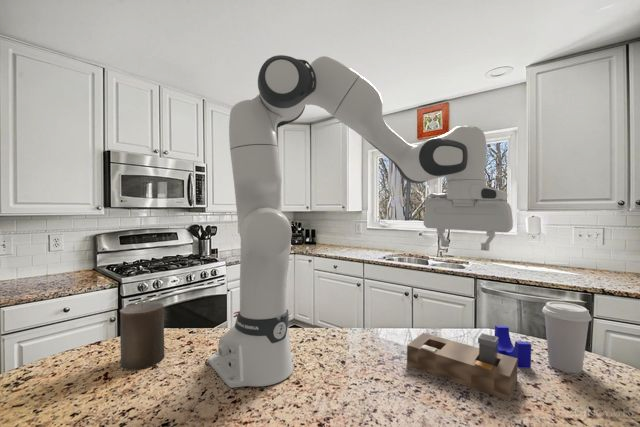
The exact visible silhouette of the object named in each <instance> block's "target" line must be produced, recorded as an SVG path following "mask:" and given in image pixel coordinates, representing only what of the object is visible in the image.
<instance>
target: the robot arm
mask: <svg viewBox="0 0 640 427" xmlns="http://www.w3.org/2000/svg"><path fill="white" fill-rule="evenodd" d="M257 75H258V76H257V88H258V92H259V94H257V95H256V97H254V98H252V99H245V100H241V101H239V102H237V103H235V104H234V105H232V108H231V109H230V113H229V122H228V124H229V125H228V137H229V138H228V139H229V141H228V142H229V151H230V152H229V153H230V161H231V169H232V176H233V178H232V179H233V186H234V195H235V205H236V207H235V208H236V216H237V224H238V226H237V227H238V233H239V238H240V254H239V255H240V256H239V257H240V262H239V263H240V265H239V266H240V267H239V310H238V311H236V312H233V315H234V314H235V315H234V316H233V318H236V319H235V323H234V325H233V327H232V328H230V329H229V330H228V331H226V332H225V333H224V334H223V335H222V336H220V338H219V340H218V346H217V347H218V348H217V349H218V350H217V351H216V352H214V353H213V354H211V355H210V356H209V357H208V358H207V359H208V360H207V361H208V364H209V365H210V367H211V368H212V369H213V370H214V371H215V373H217V375H218V376H219V377H220V379H221V380H223V382H224V383H225V385H227V386H228V388H232V389H233V388H241V387H266V386H271V385H275V384H279V383H281V382H282V381H284V380H286V379H287V378H289V377H290V376H291V375H292V373H293V371H294V363H293V359H294V353H293V352H292V349H291V337H290V329H289V320H290V314H289V310H288V308H287V307H288V306H287V305H288V304H287V302H288V301H287V300H288V286H287V283H288V272H289V265H290V264H289V263H290V256H291V246H292V245H291V242H292V237H293V232H292V227H291V226H292V225H291V223H290V221H289V219H288V218H287V216H286V215H285V214H284V213H283V212H282V174H281V165H280V155H279V145H278V144H279V143H278V137H277V136H278V135H277V129H278V128H280V127H282V126H285V125H287V124H291V123H293V122H295V121H296V120H298V119H299V118H300V117H302V115H303V113H304V112H305V108H306V105H308V106H310V105H312V106H317V107H319V108H320V109H324V110H325V111H326V112H327V113H328V114H330V115H332V117H333V118H335V119H336V120H337V121H339V122H341V123H342V124H344V125H345V126H346V127H348V128H349V129H351V130H353V131H354V132H355V133H357V134H358V135H359V136H361V137H362V138H363V139H364V140H366V141H367V142H368V143H369V144H370V145H371V146H372V147H374V148H375V149H376V150H377V151H379V152H380V153H381V154H382V155H384V157H386V158H387V159H388V160H389V161H391V163H393V165H394V166H395V167H396V169H397V171H398V173H399V174H400V175H401V177H402V178H403V179H404V180H405V181H407V182H409V183H411V184H416V185H417V184H418V185H419V184H423V183H425V182H428V181H432V180H436V179H440V178H443V177H445V178H446V193H443V192H442V193H430V194H429V195H427V196H426V197H425V198H424V209H425V210H424V215H423V226H424V227H425V228H426V229H436V233H437V236H438V237H439V239H440V245H441V247H442V248H443V247H444V248H448V247H450V239H447V238H446V237H445V233H446V230H455V231H457V230H458V231H475V232H486V236H487V239H486V240H485V242H481V243H480V246H481V247H480V250H481V251H486V252H487V251H490V244H491V242H493V240H494V238H495V237H496V233H509V232H511V231H512V230H513V229H514V228H513V227H514V226H513V225H514V224H513V223H514V220H513V211H512V206H511V204H510V203H509V202H507V200H508V192H507V191H505V190H502V189H498V188H495V187H493V186H487V177H486V172H485V169H486V166H487V162H488V161H487V160H488V159H487V158H488V157H487V156H488V155H487V154H488V152H487V150H488V148H487V140H486V135H485V133H484V131H483V130H482V129H481V128H479V127H477V126H473V125H459V126H455V127H452V129H451V130H449V131H448V132H446V133H444V134H442V135H439V136H437V137H433V138H430V139H429V138H428V139H427V140H425V141H423V142H421V143H420V144H418V145H414V144H410V143H408V142H407V141H406V140H404V139H403V138H402V137H401V136H400V135H399V134H398V133H396V132H395V130H393V129H392V128H391V127H390V126H389V125H387V123H386V121H385V119H384V116H383V99H382V95H381V93H380V92H379V91H378V89H377V88H376V87H375V85H373V84H372V83H371V82H370V81H369V80H368V79H367V78H366V77H363V75H361V74H359V73H358V72H357V71H355V70H353V69H352V68H350V67H349V66H347V65H346V64H344V63H342V62H340V61H338V60H336V59H333V58H332V57H329V56H319V57H317V58H315V59H314V60H313V61H312V62H311V63H310V62H309V61H307V60H305V59H301V58H300V59H298V58H295V57H293V56H289V55H284V54H283V55H282V54H281V55H280V54H278V55H273V56H271V57H270V58H267V59H266V60H265V61H264V63H263V64H262V65H261V67H260V69H259V72H258V74H257Z"/></svg>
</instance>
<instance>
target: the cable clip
mask: <svg viewBox="0 0 640 427" xmlns="http://www.w3.org/2000/svg"><path fill="white" fill-rule="evenodd" d="M509 328H510V327H508V326H507V325H496V324H495V325H494V336H496V337H498V344H497V353H499V354H503V355H507V356H510V357H514V358H518V368H521V369H522V368H525V369H527V368H528V369H532V343H530V342H529V341H517V340H515V341H514V345H513V342H512V340H511V337H510V336H511V335H510V329H509Z"/></svg>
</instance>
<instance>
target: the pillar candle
mask: <svg viewBox="0 0 640 427" xmlns="http://www.w3.org/2000/svg"><path fill="white" fill-rule="evenodd" d="M164 307H165V306H164V303H163V302H159V301H147V302H146V301H145V302H144V301H143V302H139V303H135V304H130V305H126V306H124V307H122V308H121V309H119V313H120V317H119V318H120V340H119V342H120V347H119V348H120V367H121V368H122V369H124V370H130V371H131V370H143V369H147V368H150V367H152V366H155V365H157V364H159V363H160V362H162V361H163V359H164V358H165V317H164V316H165V314H164V313H165V309H164Z"/></svg>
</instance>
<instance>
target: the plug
mask: <svg viewBox="0 0 640 427" xmlns="http://www.w3.org/2000/svg"><path fill="white" fill-rule="evenodd" d="M477 343H478V346H479V347H478V348H479V361H481V362H484V363H488V364H491V365H493V366H496V367H497V344H498V337H496V336H495V335H490V334H486V333H483V332H482V333H481V334H480V335H479V336H478V337H477Z"/></svg>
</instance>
